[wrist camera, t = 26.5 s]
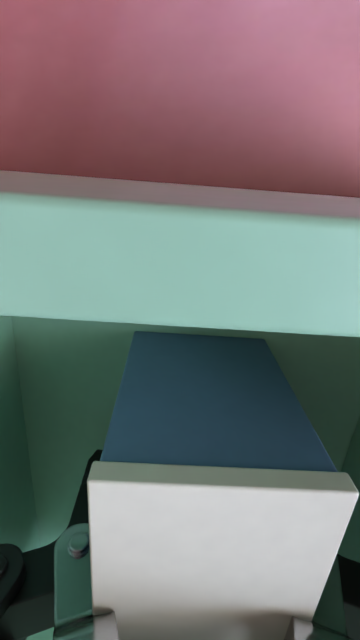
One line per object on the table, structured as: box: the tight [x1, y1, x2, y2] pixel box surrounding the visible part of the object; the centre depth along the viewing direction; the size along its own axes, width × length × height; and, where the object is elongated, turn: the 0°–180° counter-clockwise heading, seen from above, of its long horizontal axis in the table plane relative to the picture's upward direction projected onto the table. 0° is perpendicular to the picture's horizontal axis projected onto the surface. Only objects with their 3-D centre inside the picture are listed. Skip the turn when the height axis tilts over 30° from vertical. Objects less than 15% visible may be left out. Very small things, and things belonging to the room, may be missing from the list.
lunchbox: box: [0, 170, 360, 640], centre depth 10 cm, size 20×15×9 cm
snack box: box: [87, 331, 359, 640], centre depth 11 cm, size 5×10×6 cm, turn 176°
